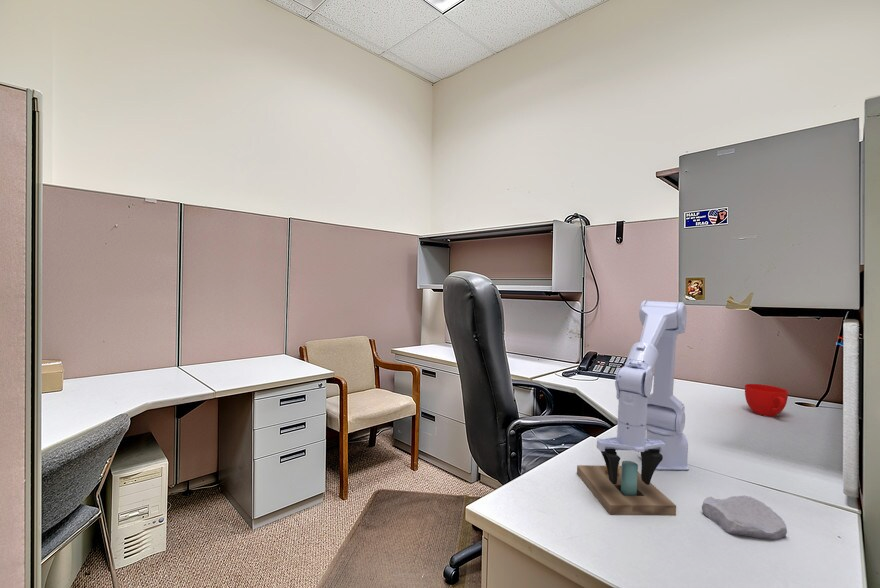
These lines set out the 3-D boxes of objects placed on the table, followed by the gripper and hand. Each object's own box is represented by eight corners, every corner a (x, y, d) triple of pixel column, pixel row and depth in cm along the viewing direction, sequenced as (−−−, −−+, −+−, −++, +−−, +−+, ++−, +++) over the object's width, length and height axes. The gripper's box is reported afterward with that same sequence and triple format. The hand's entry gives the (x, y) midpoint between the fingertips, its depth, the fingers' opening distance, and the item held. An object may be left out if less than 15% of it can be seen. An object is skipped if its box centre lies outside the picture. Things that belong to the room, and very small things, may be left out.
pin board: (631, 473, 102) (632, 454, 102) (675, 515, 84) (677, 491, 84) (576, 473, 101) (577, 453, 101) (609, 514, 83) (610, 490, 83)
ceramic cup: (762, 421, 146) (763, 394, 146) (736, 407, 162) (737, 382, 162) (802, 424, 144) (804, 397, 143) (772, 410, 160) (774, 385, 160)
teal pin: (631, 495, 91) (633, 460, 91) (639, 503, 88) (640, 467, 88) (617, 495, 91) (619, 460, 91) (624, 503, 88) (626, 467, 88)
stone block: (792, 548, 77) (749, 509, 87) (797, 527, 76) (754, 490, 86) (733, 551, 76) (697, 511, 86) (737, 530, 75) (700, 492, 85)
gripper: (607, 427, 85) (605, 491, 85) (675, 428, 85) (672, 492, 86) (593, 416, 92) (591, 475, 92) (655, 417, 92) (653, 476, 93)
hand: (629, 482), depth 90 cm, fingers open, 7 cm apart
